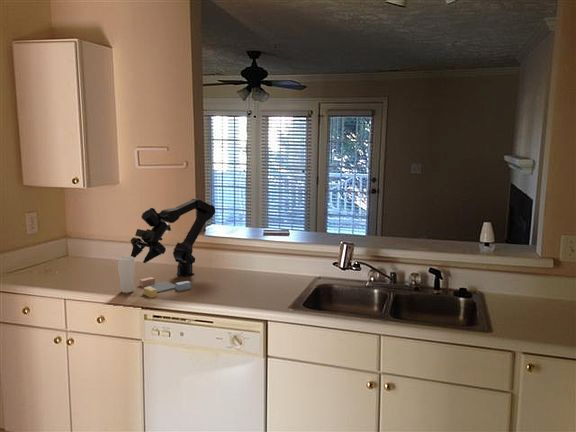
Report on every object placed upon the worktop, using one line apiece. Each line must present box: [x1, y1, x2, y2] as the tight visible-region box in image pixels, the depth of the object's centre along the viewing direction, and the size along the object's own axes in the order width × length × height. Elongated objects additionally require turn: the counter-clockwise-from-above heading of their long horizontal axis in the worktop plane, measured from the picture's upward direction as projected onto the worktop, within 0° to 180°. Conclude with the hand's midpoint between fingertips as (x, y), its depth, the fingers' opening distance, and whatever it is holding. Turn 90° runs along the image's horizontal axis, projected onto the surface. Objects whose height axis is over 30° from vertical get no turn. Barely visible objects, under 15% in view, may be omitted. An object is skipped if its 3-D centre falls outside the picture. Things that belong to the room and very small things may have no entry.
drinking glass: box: [117, 255, 136, 294], centre depth 208 cm, size 7×7×15 cm
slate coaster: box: [144, 280, 176, 294], centre depth 215 cm, size 11×11×1 cm
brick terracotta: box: [139, 276, 156, 288], centre depth 219 cm, size 6×3×3 cm, turn 135°
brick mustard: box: [142, 286, 158, 298], centre depth 205 cm, size 6×3×3 cm, turn 44°
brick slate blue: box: [174, 280, 192, 292], centre depth 214 cm, size 6×3×3 cm, turn 130°
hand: (137, 260), depth 212 cm, fingers open, 9 cm apart
